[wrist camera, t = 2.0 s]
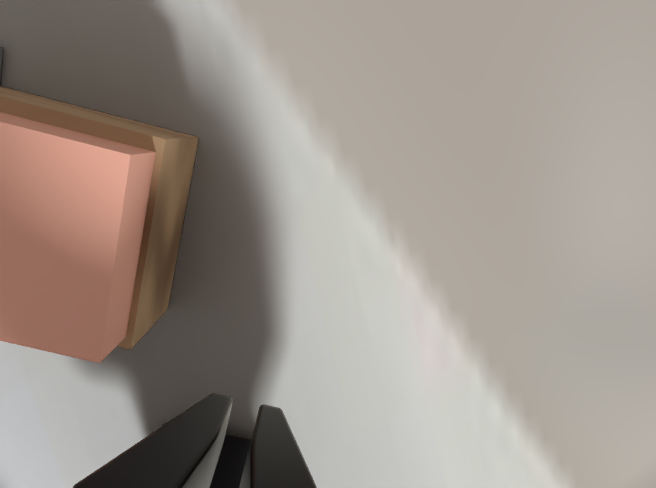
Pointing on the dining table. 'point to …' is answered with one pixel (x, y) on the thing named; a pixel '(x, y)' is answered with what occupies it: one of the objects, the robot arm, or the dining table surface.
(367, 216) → the dining table surface
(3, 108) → the brown square block
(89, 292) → the pink block
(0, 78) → the mat
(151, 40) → the dining table surface
